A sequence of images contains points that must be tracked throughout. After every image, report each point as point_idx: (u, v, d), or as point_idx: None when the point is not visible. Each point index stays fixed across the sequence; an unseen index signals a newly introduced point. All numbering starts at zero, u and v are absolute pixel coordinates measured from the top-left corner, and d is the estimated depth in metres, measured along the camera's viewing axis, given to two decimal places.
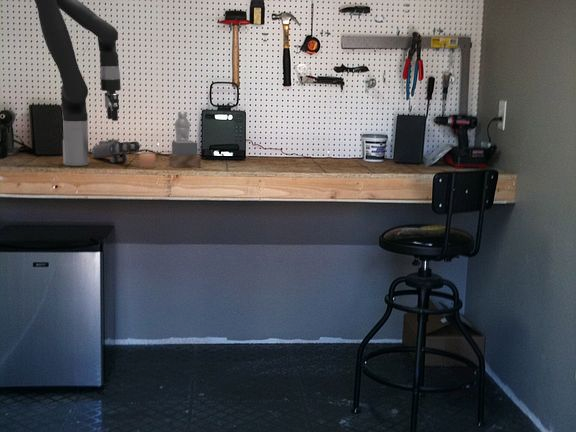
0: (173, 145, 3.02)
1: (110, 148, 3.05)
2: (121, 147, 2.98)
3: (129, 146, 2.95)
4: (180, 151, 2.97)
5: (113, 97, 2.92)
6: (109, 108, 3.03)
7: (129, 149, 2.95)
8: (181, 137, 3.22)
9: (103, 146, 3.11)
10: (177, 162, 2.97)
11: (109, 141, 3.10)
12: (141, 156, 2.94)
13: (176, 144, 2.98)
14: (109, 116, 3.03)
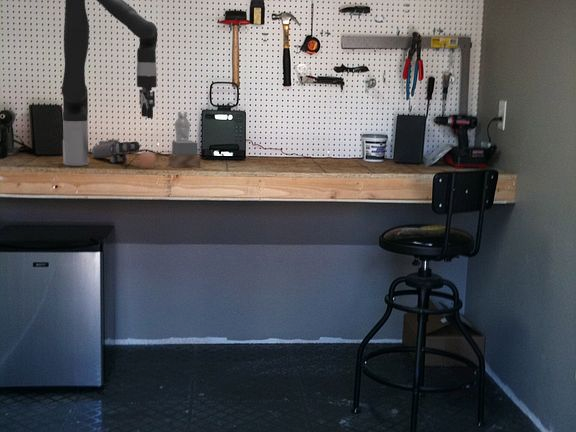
0: (173, 145, 3.02)
1: (110, 148, 3.05)
2: (121, 147, 2.98)
3: (129, 146, 2.95)
4: (180, 151, 2.97)
5: (149, 94, 2.85)
6: (143, 105, 2.96)
7: (129, 149, 2.95)
8: (181, 137, 3.22)
9: (103, 146, 3.11)
10: (177, 162, 2.97)
11: (109, 141, 3.10)
12: (141, 156, 2.94)
13: (176, 144, 2.98)
14: (143, 113, 2.97)
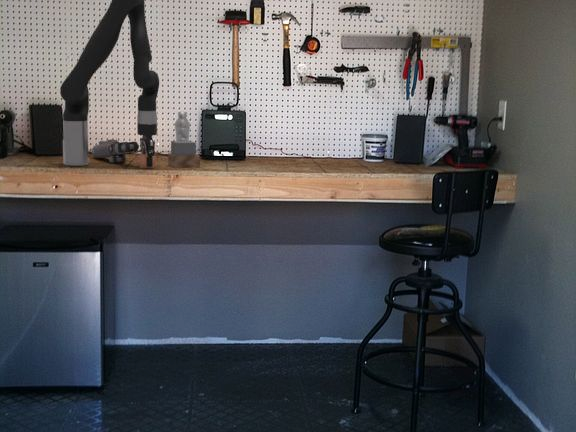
0: (172, 145, 3.02)
1: (109, 148, 3.05)
2: (120, 147, 2.98)
3: (128, 146, 2.94)
4: (178, 151, 2.97)
5: (150, 144, 2.89)
6: None
7: (128, 149, 2.95)
8: (181, 137, 3.22)
9: (102, 146, 3.11)
10: (176, 162, 2.97)
11: (108, 141, 3.10)
12: (141, 156, 2.94)
13: (175, 144, 2.98)
14: None
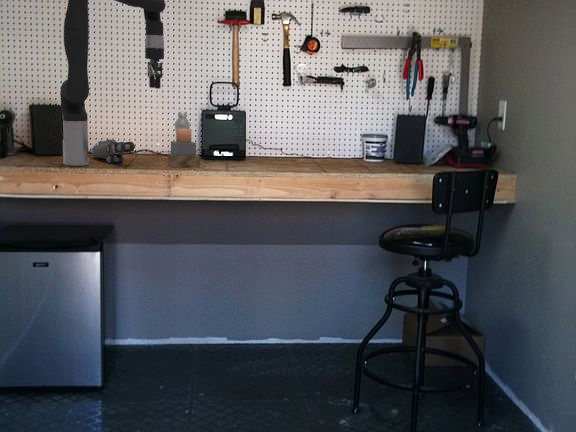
0: (172, 145, 3.02)
1: (107, 148, 3.05)
2: (116, 147, 2.98)
3: (123, 146, 2.94)
4: (178, 151, 2.97)
5: (157, 65, 3.00)
6: (151, 77, 3.10)
7: (123, 149, 2.94)
8: None
9: (101, 146, 3.11)
10: (176, 162, 2.97)
11: (107, 141, 3.10)
12: (178, 131, 2.98)
13: (175, 144, 2.98)
14: (151, 85, 3.11)
